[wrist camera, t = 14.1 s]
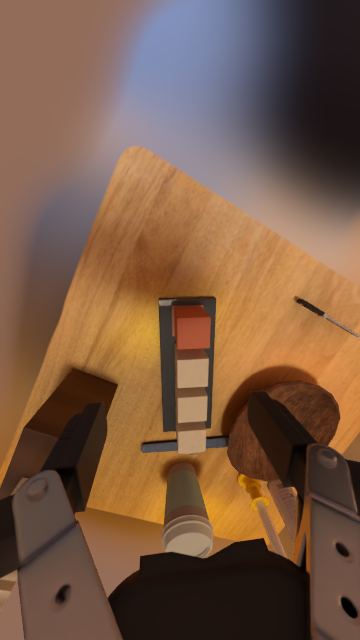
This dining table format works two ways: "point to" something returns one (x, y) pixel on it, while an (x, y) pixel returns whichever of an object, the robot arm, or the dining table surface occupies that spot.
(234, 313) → the dining table surface
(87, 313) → the dining table surface
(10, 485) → the stand
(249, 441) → the bowl
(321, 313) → the knife
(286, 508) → the container
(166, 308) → the far board
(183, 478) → the coffee cup
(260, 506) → the candle
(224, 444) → the wristwatch
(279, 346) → the dining table surface
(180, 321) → the red-brown rectangular block
